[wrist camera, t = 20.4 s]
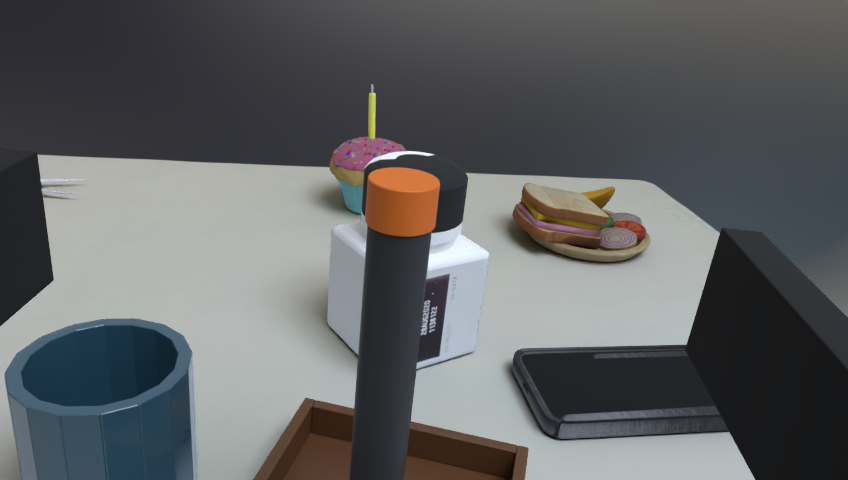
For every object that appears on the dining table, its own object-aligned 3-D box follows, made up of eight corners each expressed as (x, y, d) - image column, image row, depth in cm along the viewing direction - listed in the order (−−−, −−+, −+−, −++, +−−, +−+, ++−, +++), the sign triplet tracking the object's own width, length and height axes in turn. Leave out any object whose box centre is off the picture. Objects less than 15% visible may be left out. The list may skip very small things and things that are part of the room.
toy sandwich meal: (666, 270, 64) (679, 223, 62) (521, 260, 63) (529, 212, 61) (624, 218, 75) (634, 176, 73) (500, 209, 74) (507, 166, 72)
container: (477, 353, 48) (504, 174, 43) (380, 382, 44) (398, 188, 39) (415, 302, 54) (432, 138, 48) (324, 324, 50) (333, 147, 44)
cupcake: (318, 194, 73) (323, 78, 68) (394, 190, 76) (404, 80, 71) (342, 226, 66) (349, 100, 61) (425, 220, 69) (438, 100, 64)
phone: (779, 413, 43) (550, 424, 40) (773, 428, 43) (546, 439, 40) (708, 343, 50) (509, 347, 47) (704, 356, 50) (506, 361, 47)
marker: (333, 585, 29) (358, 183, 22) (350, 541, 32) (379, 162, 24) (388, 599, 29) (432, 195, 22) (401, 554, 31) (446, 173, 24)
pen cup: (-8, 542, 30) (-39, 391, 27) (97, 438, 37) (82, 306, 34) (142, 584, 29) (128, 432, 26) (223, 469, 36) (220, 336, 33)
